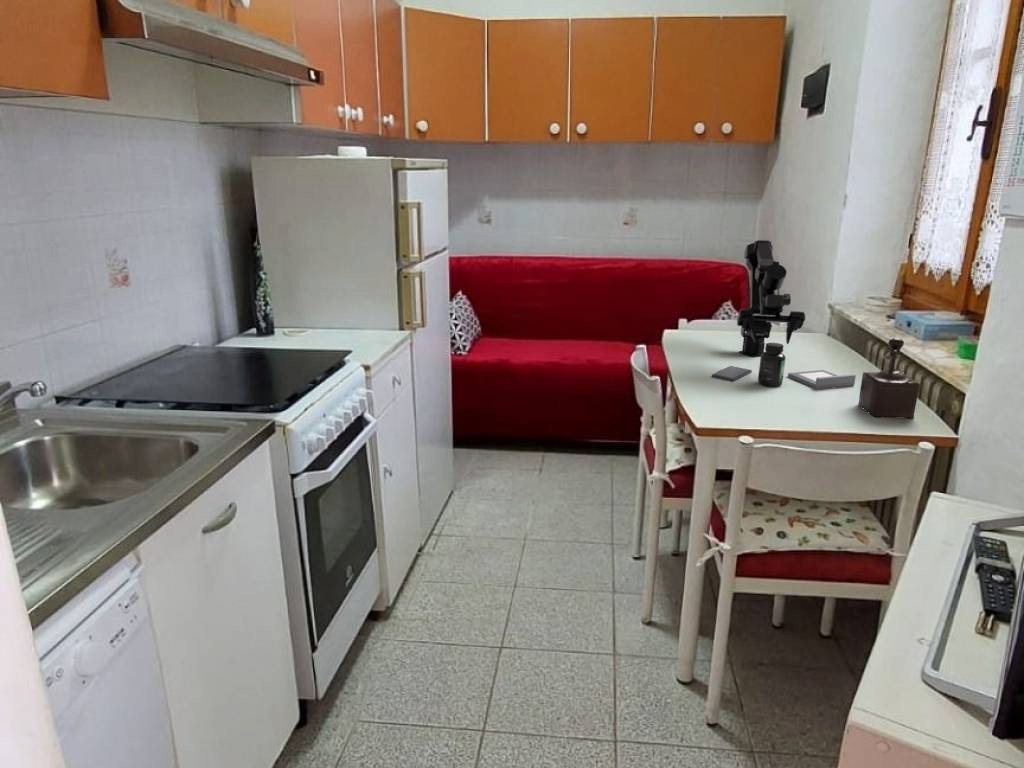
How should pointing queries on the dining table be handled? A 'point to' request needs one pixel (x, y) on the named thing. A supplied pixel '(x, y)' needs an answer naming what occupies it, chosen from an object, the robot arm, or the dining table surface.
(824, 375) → the tray
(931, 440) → the dining table surface
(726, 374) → the phone
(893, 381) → the pepper mill
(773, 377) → the supplement bottle
